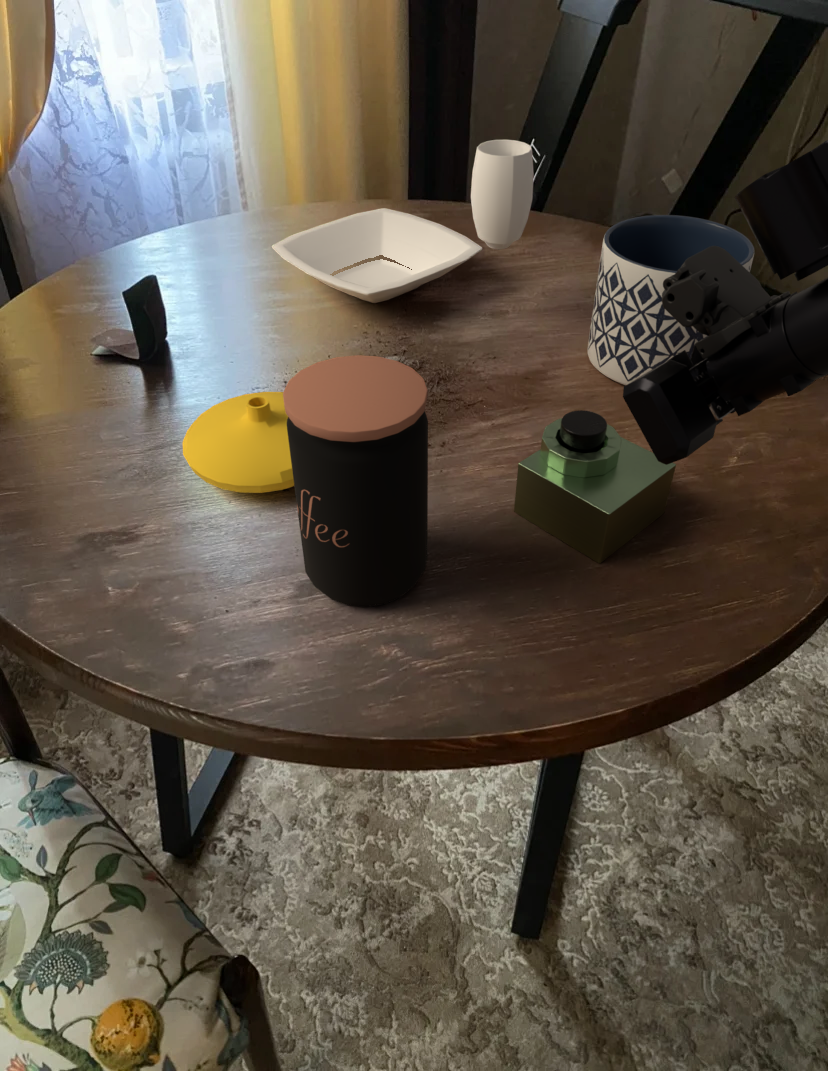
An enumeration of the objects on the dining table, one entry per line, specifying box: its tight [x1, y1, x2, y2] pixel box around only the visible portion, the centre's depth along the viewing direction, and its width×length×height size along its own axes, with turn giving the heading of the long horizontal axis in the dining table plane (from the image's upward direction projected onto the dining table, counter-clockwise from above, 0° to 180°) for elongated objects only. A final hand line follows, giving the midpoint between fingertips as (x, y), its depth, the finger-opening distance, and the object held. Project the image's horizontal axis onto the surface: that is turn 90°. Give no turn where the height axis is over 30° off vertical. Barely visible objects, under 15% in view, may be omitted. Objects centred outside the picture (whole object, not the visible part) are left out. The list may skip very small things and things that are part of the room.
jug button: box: [559, 409, 608, 453], centre depth 74 cm, size 4×4×2 cm
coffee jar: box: [282, 354, 429, 608], centre depth 67 cm, size 11×11×18 cm
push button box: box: [513, 417, 677, 565], centre depth 76 cm, size 10×10×8 cm
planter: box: [587, 214, 755, 386], centre depth 95 cm, size 16×16×14 cm
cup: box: [470, 139, 535, 251], centre depth 102 cm, size 7×7×21 cm
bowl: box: [271, 207, 483, 304], centre depth 114 cm, size 22×23×6 cm
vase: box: [181, 391, 294, 494], centre depth 83 cm, size 16×16×7 cm
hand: (643, 412), depth 68 cm, fingers closed
